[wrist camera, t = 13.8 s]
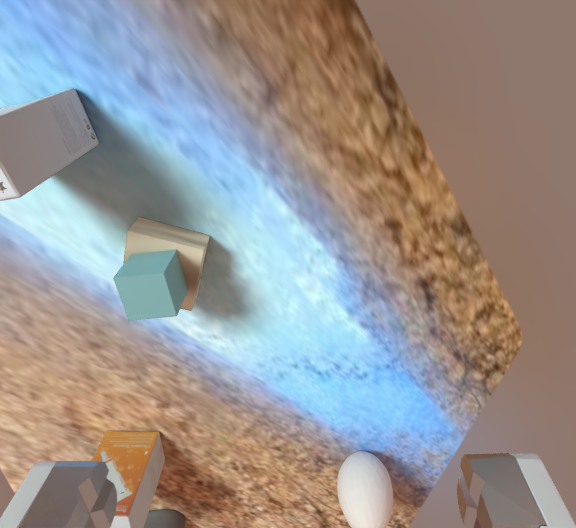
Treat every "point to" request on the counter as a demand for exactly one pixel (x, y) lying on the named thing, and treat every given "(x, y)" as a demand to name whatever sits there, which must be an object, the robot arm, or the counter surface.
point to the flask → (164, 519)
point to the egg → (365, 491)
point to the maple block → (169, 237)
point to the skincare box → (41, 140)
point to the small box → (132, 473)
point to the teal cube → (151, 285)
